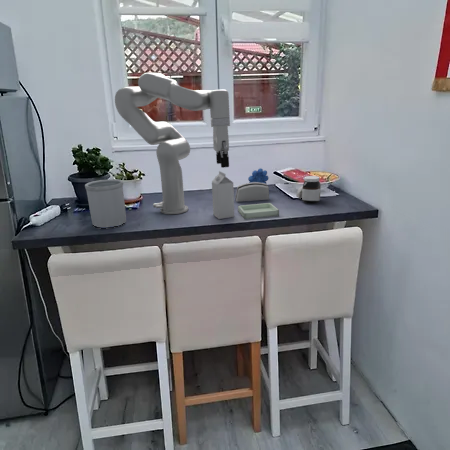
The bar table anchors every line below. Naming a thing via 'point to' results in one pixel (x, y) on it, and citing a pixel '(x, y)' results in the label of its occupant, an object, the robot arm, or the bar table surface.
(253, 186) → the grey piece
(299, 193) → the spread jar
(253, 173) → the grapes
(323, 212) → the bar table surface
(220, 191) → the milk carton
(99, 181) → the utensil holder
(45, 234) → the bar table surface
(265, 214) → the tray
